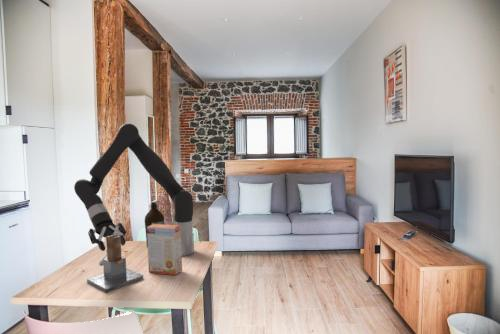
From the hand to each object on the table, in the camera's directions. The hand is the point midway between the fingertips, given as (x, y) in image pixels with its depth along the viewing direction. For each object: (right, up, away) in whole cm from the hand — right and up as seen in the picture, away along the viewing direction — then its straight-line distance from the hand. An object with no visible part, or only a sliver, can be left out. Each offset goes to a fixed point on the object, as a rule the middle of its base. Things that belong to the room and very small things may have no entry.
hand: (114, 247), depth 129 cm
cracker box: (+19, -14, +10) cm, 25 cm away
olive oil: (+3, -12, +47) cm, 48 cm away
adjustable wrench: (-17, -13, +32) cm, 39 cm away
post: (0, -13, +1) cm, 13 cm away
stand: (0, -14, +1) cm, 14 cm away
